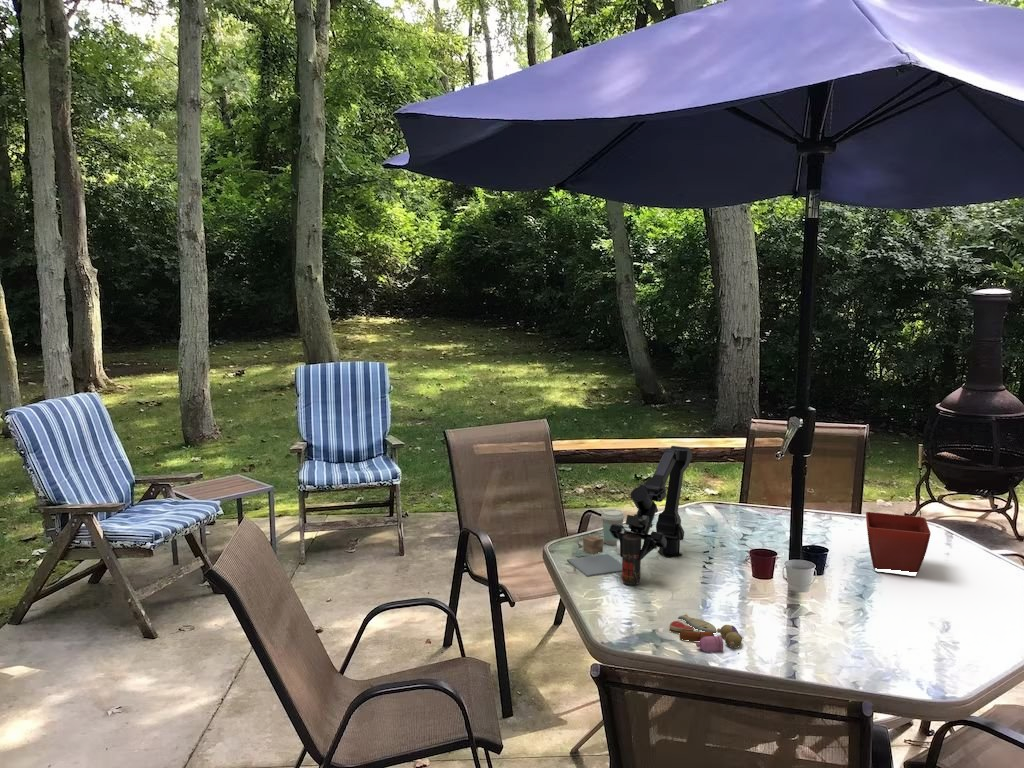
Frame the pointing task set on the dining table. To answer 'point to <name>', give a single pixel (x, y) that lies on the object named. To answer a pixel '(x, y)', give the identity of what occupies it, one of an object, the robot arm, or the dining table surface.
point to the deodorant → (631, 559)
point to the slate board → (596, 565)
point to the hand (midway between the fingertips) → (629, 558)
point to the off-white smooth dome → (618, 546)
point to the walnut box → (592, 544)
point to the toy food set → (706, 633)
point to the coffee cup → (608, 519)
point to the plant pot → (897, 541)
